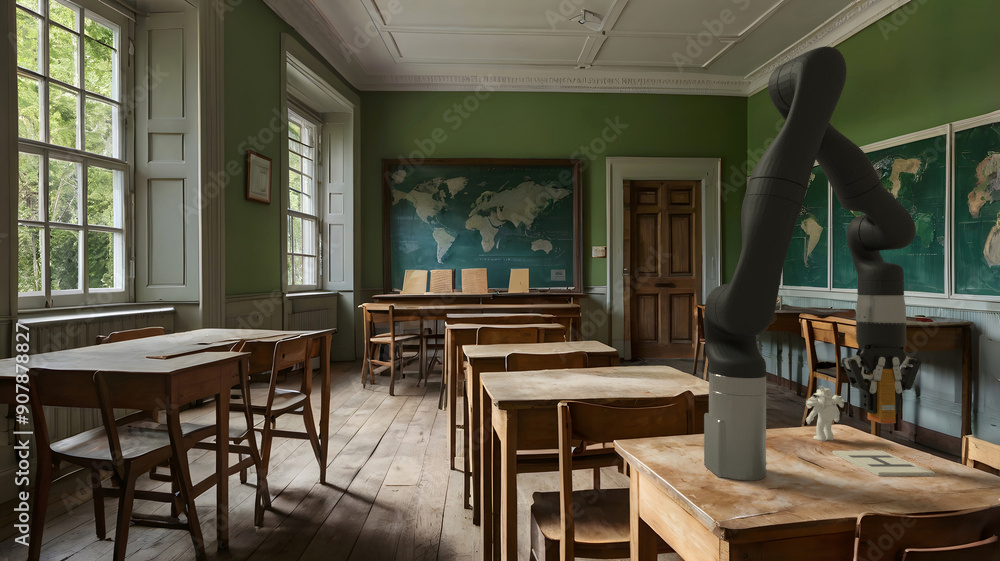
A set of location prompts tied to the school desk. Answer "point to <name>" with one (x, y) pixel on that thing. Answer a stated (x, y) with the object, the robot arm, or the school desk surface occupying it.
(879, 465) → the letter pad
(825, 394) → the white toy figure
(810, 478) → the school desk surface
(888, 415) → the supplement box
